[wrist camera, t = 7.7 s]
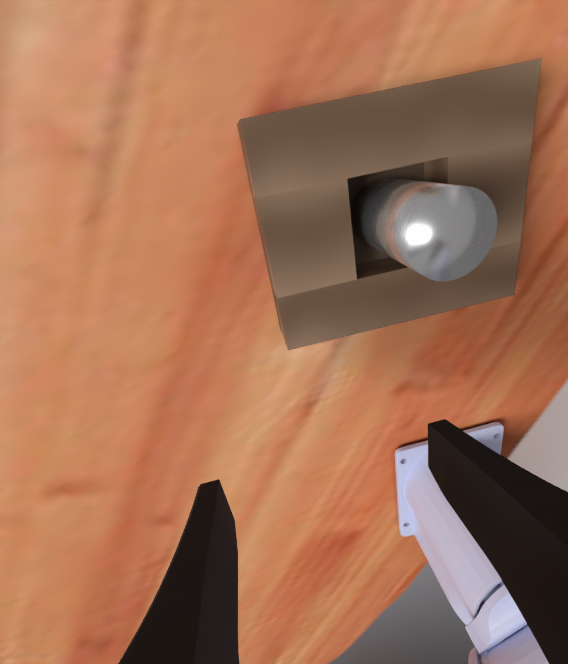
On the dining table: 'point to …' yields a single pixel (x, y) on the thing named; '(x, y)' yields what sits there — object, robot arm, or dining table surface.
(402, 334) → the dining table surface
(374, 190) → the pin
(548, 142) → the dining table surface
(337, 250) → the bore block
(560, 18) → the dining table surface
